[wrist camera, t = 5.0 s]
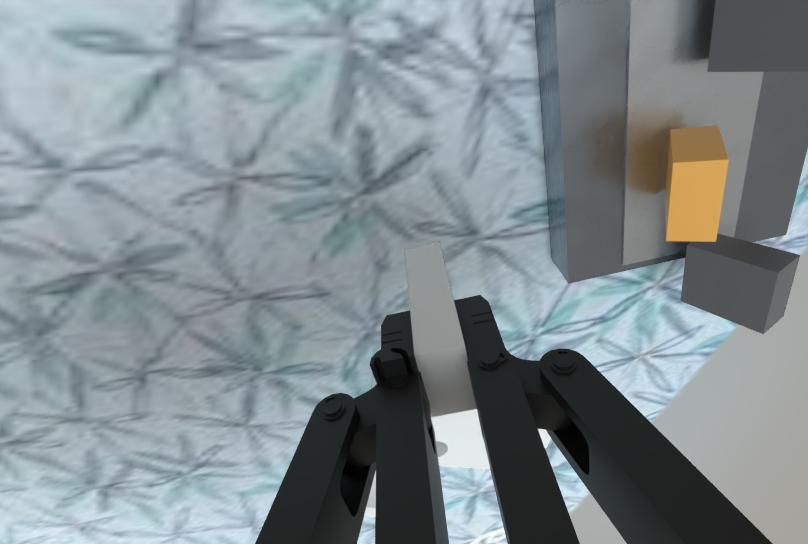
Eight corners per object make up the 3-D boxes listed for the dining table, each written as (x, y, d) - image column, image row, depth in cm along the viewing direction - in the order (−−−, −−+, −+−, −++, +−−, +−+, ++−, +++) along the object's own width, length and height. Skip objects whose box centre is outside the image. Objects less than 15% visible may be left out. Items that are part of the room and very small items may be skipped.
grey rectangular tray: (551, 259, 28) (569, 284, 25) (522, -170, 17) (547, -199, 15) (749, 213, 27) (788, 235, 24) (841, -266, 16) (925, -315, 14)
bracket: (363, 420, 35) (361, 515, 28) (378, 352, 31) (379, 443, 25) (520, 433, 37) (551, 525, 30) (550, 370, 33) (592, 459, 27)
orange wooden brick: (664, 200, 22) (666, 241, 19) (670, 129, 20) (673, 162, 18) (707, 199, 21) (716, 241, 19) (717, 125, 20) (728, 159, 17)
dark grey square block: (680, 300, 25) (763, 334, 21) (687, 245, 23) (778, 272, 20) (700, 286, 25) (783, 316, 22) (708, 230, 23) (800, 255, 20)
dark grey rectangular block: (707, 71, 18) (828, 71, 15) (718, -31, 17) (860, -55, 13) (732, 59, 19) (854, 56, 16) (746, -41, 17) (887, -66, 14)
